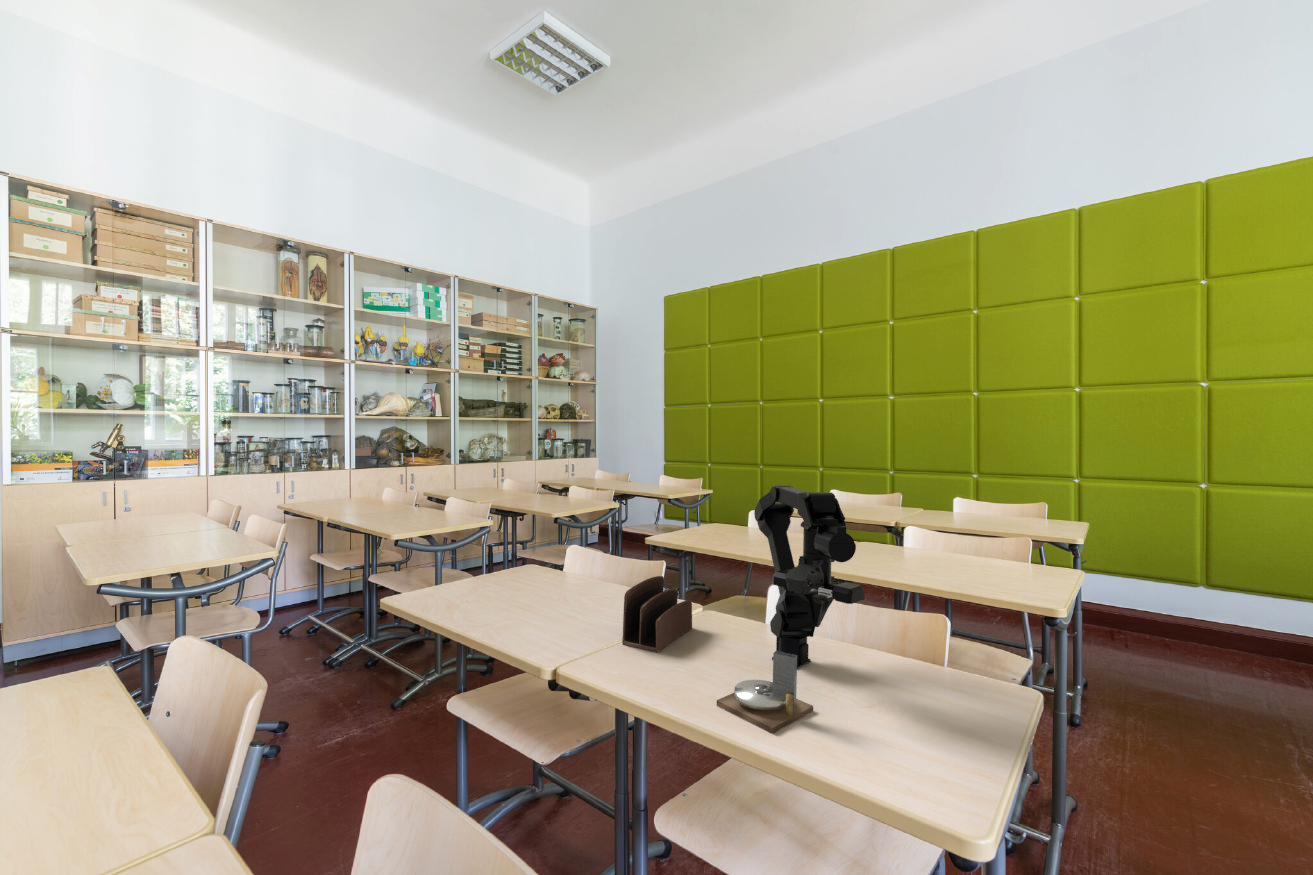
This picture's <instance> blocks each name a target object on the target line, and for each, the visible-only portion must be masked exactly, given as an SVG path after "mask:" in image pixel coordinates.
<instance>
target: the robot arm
mask: <svg viewBox="0 0 1313 875" xmlns="http://www.w3.org/2000/svg"><path fill="white" fill-rule="evenodd" d="M754 508H755V509H754V512H753V514H754V519H755V521H756V523H757V525H758V529H759V531H760V532H761V533H762V534H763V535H764V536H765V537H766V538H767V542H768V545H769V549H770V550H769V551H770V556H771V560H772V564H773V565H772V566H773V568H774V574H773V575H772V585H773V586H777V587H778V592H779V593H778V594H779V597H778V600H777V602H776V604H775V613H774V615H773V617H772V618H771V620H770V622H769V624H770V632H771V633H772V634H773V635H774V636H775V637H776V642H775V643H776V645H775V648H776V649H775V651H781V652H785V653H790V654H794V655H797V668H800V667H802V666H804V665H806V664H808V663H810V662H811V660H812V659H811V658H809V648H810V647H809V646H810V645H809V643H808V637H810V638H813V637H814V635H815V634H814V633H815V628H819V627H820V626H821V624H822V622H823V620H824V617H825V616H826V613H827V612H828V610H829V608H830V606H831V604H832V602H834V601H836V602H839V603H843V604H848V605H850V604H851V605H852V604H855V603H858V602H862V601H864V600H865V599H866V598H865V595H866V594H865V593H866V592H865V589H864V588H863V586H862V584H858V583H857V584H856V583H852V582H848V581H845V582H841V583H837V584H833V582H835V576H833V575H832V563H834V562H838V563H846V562H849V561H851V559H852V558H853V557H854V555H855V553H856V550H857V544H856V542H855V540H854V539H853V537H852V536H851V534H850V533H849V534H848V533H847V526H846V525H847V523H846V517H845V514H844V512H843V511H842V509H841V506H840V503H839V501H838V498H837V497H836V495H835V494H834V493H833V492H829V491H827V492H824V491H821V492H819V491H818V492H817V491H815V492H813V491H811V492H810V491H809V492H808V491H806V490H802V489H799V488H796V487H793V486H791V485H774V486H771V488H770V489H769V492H767V493H766V494H765V495H763V496H762V497H761V498H760V499H758V501H757V504H756V507H754ZM795 509H796V511H797V515H799V516H800V517H801V518H802V520H803V521H802V522H801V523H800V527H801V528H803V544H802V546H803V547H802V548H803V549H802V551H803V552H802V555H799V559H798V564H797V566H795V563H794V559H793V558H794V557H793V553H792V550H791V545H790V542H789V541H790V540H789V536H788V530H789V528H790V525H791V518H792V516H793V514H794V513H795ZM771 660H772V661H773V656H772V657H771Z"/></svg>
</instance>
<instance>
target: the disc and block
mask: <svg viewBox="0 0 1313 875" xmlns="http://www.w3.org/2000/svg"><path fill="white" fill-rule="evenodd" d="M772 654H773V655H772V657H773V660H772V681H770V680H764V679H748V680H747V679H746V680H744V681H743V680H742V681H739V682H738V683H736V685H735V686H734V690H733V693H734V696H735V699H736V700H737V701H738V702H739V703H740V704H742V705H744V706H746V707H749V708H752V709H756V710H765V711H771V710H778V709H781V708H783V707H785V706H786V694H787V693H791V694H793V702H794V701H795V700H796V699H797V683H798V681H797V680H798V667H797V655H794V654H790V653H785V652H781V651H776V650H775V651H774V652H773V653H772Z"/></svg>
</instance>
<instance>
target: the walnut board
mask: <svg viewBox="0 0 1313 875" xmlns="http://www.w3.org/2000/svg"><path fill="white" fill-rule="evenodd" d="M716 706H717V707H719V708H721V709H723V710H724V711H726V712H728V713H731V714H733V715H734V716H737V717H738V718H740V719H743V720H744V721H746V722H748V723H750V724H752V725H754V726H756V727H758V728H760V729H762V730H764V731H766V732H768V733H770V734H775V733H776V732H778V731H780V730H782V729H784V728H785V727H788V726H789V725H791V724H793V723H795V722H797V721H799V720H800V719H803V718H804V717H806V716H808V715H809V714H811V713H812V712H814V705H812V704H810V703H808V702H805V701H803V700H801V699H799V698H796V700H795V701H794V702H793V694H791V693H787V694H786V706H785V707H783V708H781V709H778V710H771V711H765V710H756V709H752V708H749V707H746V706H744V705H742V704H740V703H739V702H738V701H737V700H736V699H735V696H734V692H731V694H727V695H725V696H723V697H721V698H718V699H716Z"/></svg>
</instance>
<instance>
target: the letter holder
mask: <svg viewBox="0 0 1313 875" xmlns="http://www.w3.org/2000/svg"><path fill="white" fill-rule="evenodd" d="M664 582H665V578H664V576H663V575H656V576H652V577H650V578H647V579H645V580H643V581H641V582H639V583H637V584H634V585H633V586H632V587H630V588H629V589H627V590H626V591H625V593H624V597H623V616H622V617H623V618H622V619H623V620H622V640H621V641H622V642H621V643H622V644H621V645H622V646H626V647H630V648H631V647H632V648H637V649H640V650H644V651H649V652H653V653H658V652H660V651H662V650H663V649H664V648H666V647H667V646H669V645H670V644H672V643H673V642H675V641H676V640H677V639H679V638H681V637H682V636H683V635H684V634H686V633H688V632H689V631H691V629H693V603H692V601H691V599H686V600H684V601H681V602H678V596H679V595H678V592H679V591H678V589H677V588H670V589H667V590H664V589H665V588H664V585H665V584H664ZM687 631H688V632H687Z"/></svg>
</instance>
